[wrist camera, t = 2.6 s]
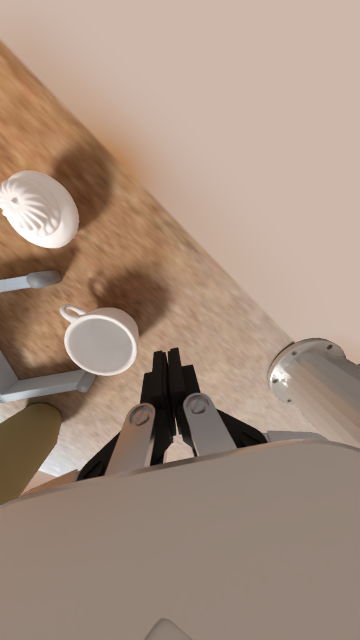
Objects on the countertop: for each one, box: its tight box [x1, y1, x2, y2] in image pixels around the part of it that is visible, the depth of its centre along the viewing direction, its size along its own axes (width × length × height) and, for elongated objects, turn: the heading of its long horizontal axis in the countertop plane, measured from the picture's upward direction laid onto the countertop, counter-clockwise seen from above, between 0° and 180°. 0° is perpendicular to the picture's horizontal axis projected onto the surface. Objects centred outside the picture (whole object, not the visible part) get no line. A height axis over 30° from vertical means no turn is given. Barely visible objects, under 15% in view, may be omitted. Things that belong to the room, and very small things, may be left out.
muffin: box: [0, 170, 80, 248], centre depth 16 cm, size 6×6×7 cm
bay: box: [0, 270, 97, 403], centre depth 22 cm, size 13×16×4 cm
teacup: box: [60, 304, 139, 375], centre depth 22 cm, size 10×8×5 cm
